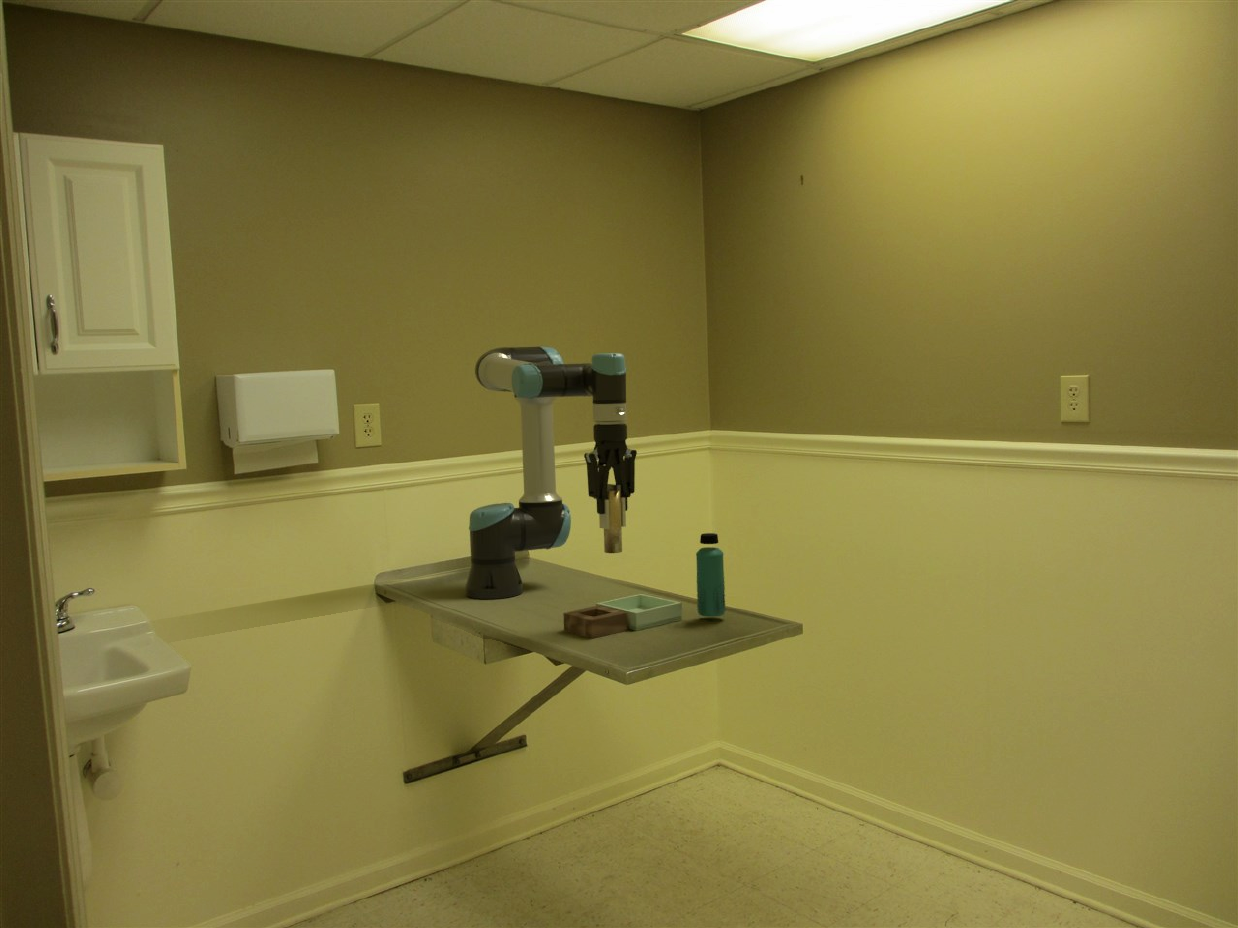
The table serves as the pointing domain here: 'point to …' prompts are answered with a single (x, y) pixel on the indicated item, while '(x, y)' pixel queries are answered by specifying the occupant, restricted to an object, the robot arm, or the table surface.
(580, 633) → the block
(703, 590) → the beverage bottle
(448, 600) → the table surface
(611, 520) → the amber rounded cylinder
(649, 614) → the tray
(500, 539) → the robot arm
